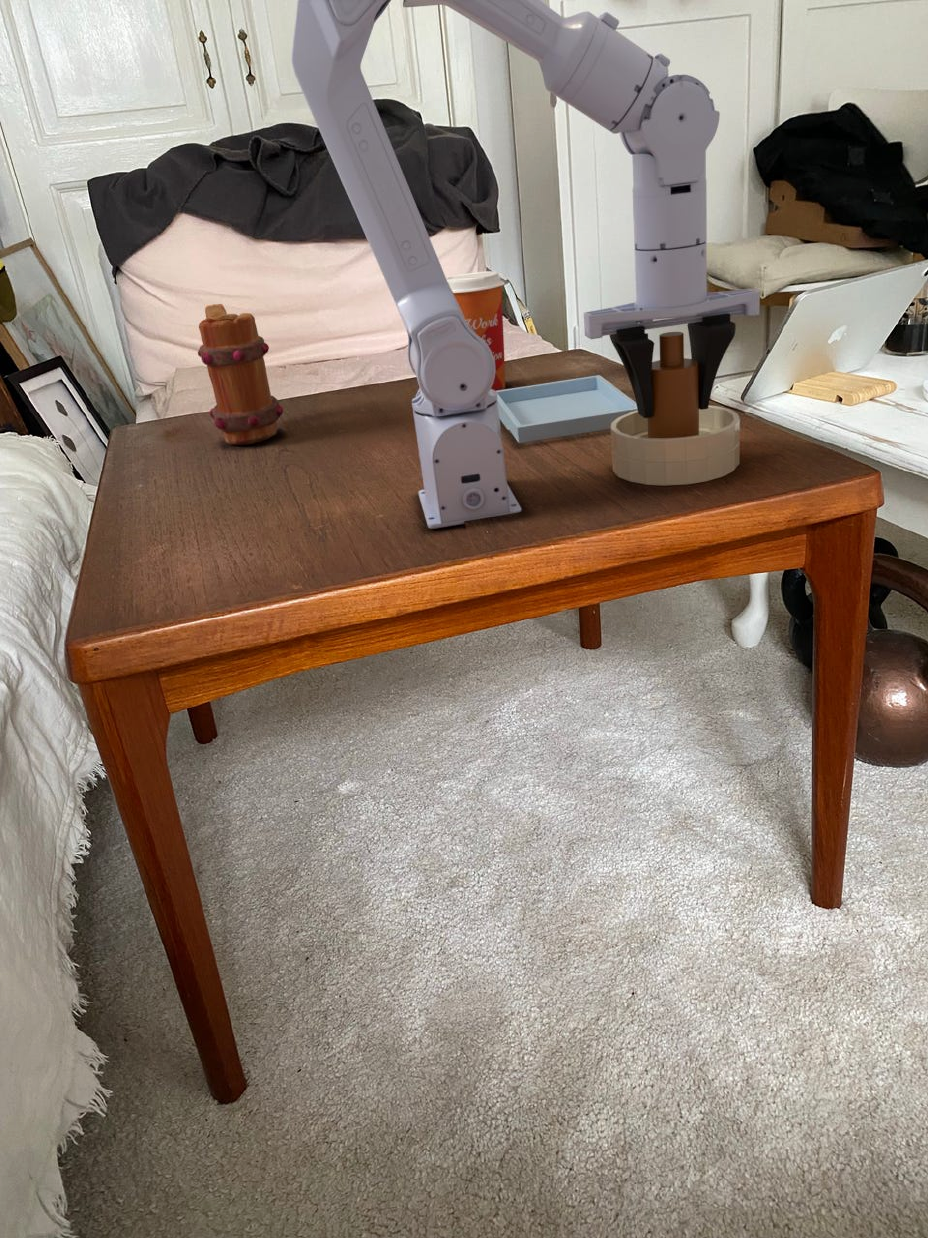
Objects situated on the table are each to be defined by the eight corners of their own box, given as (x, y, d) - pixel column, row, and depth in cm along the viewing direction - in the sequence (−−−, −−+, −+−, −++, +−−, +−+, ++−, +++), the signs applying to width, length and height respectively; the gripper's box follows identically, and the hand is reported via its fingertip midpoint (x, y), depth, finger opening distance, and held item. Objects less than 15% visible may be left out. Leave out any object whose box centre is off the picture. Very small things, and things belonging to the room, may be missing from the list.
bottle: (706, 446, 82) (706, 334, 78) (657, 453, 82) (654, 342, 78) (688, 433, 86) (687, 326, 82) (641, 440, 86) (638, 333, 82)
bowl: (759, 478, 81) (760, 426, 79) (633, 498, 80) (631, 447, 78) (711, 444, 91) (711, 397, 89) (599, 462, 90) (596, 415, 88)
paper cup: (447, 399, 120) (432, 283, 114) (462, 384, 126) (448, 273, 120) (508, 395, 118) (496, 277, 112) (519, 380, 124) (509, 267, 118)
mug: (294, 440, 111) (266, 307, 104) (224, 455, 108) (192, 320, 102) (270, 416, 123) (244, 296, 116) (207, 429, 121) (177, 307, 114)
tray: (644, 427, 98) (643, 407, 97) (519, 447, 97) (517, 427, 97) (600, 392, 114) (599, 374, 113) (492, 408, 113) (490, 391, 112)
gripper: (737, 230, 81) (735, 389, 87) (571, 253, 80) (581, 412, 86) (772, 235, 75) (767, 406, 81) (592, 260, 74) (601, 431, 80)
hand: (673, 410), depth 83 cm, fingers closed on bottle, 4 cm apart
